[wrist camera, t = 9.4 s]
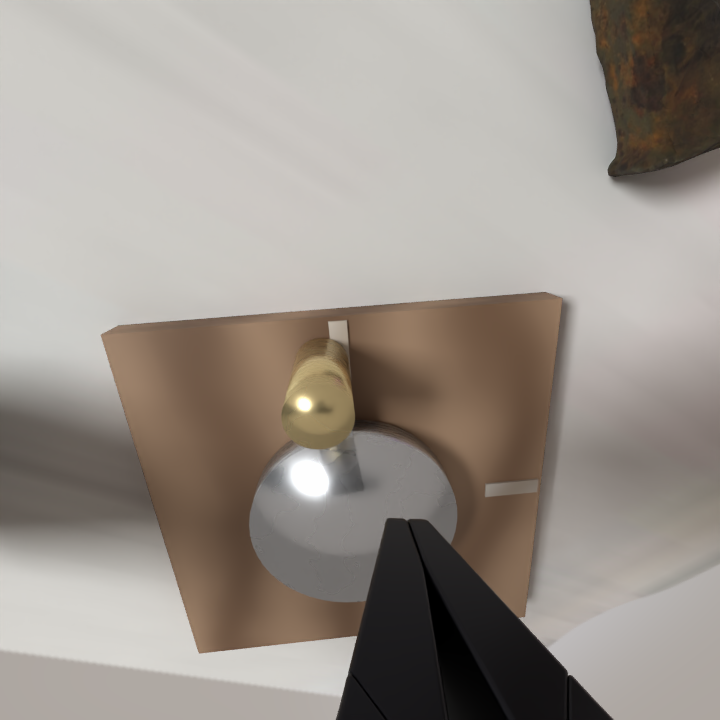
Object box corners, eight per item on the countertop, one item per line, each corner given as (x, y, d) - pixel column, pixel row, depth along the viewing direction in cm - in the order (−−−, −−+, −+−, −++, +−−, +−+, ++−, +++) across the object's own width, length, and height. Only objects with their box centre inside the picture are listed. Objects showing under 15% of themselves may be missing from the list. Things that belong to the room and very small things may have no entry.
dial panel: (206, 628, 25) (198, 654, 24) (118, 325, 18) (99, 335, 17) (514, 595, 26) (525, 618, 24) (545, 292, 19) (563, 298, 17)
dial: (456, 559, 22) (489, 651, 18) (281, 592, 22) (268, 693, 18) (429, 317, 17) (465, 356, 12) (203, 359, 17) (154, 413, 12)
